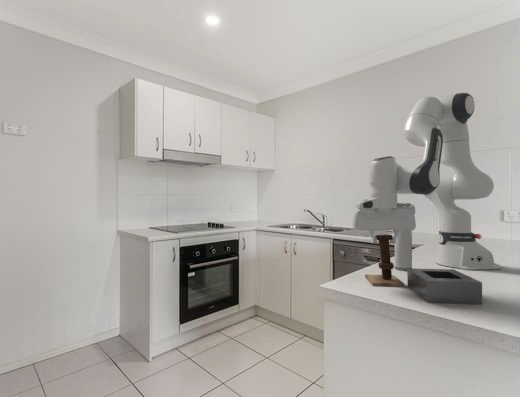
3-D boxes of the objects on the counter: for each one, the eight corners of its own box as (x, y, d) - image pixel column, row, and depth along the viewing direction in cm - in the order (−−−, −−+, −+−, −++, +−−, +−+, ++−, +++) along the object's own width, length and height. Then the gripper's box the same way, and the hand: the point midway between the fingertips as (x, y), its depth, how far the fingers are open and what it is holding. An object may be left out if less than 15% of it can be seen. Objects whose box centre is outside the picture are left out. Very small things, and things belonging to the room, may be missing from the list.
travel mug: (390, 267, 118) (390, 219, 118) (405, 266, 119) (405, 219, 119) (399, 271, 112) (399, 220, 112) (415, 270, 112) (415, 220, 112)
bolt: (397, 280, 95) (393, 235, 95) (382, 280, 95) (378, 236, 96) (391, 276, 100) (388, 234, 101) (377, 277, 101) (373, 234, 102)
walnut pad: (393, 278, 102) (393, 275, 102) (404, 286, 93) (404, 283, 93) (365, 277, 104) (365, 274, 104) (372, 285, 94) (372, 282, 94)
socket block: (453, 288, 91) (453, 269, 91) (482, 304, 77) (482, 282, 77) (407, 286, 92) (407, 268, 92) (427, 302, 79) (426, 280, 79)
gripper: (411, 202, 100) (411, 242, 100) (351, 203, 103) (351, 241, 103) (419, 203, 94) (419, 245, 94) (355, 203, 96) (355, 244, 96)
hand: (383, 243), depth 98 cm, fingers closed on bolt, 5 cm apart
